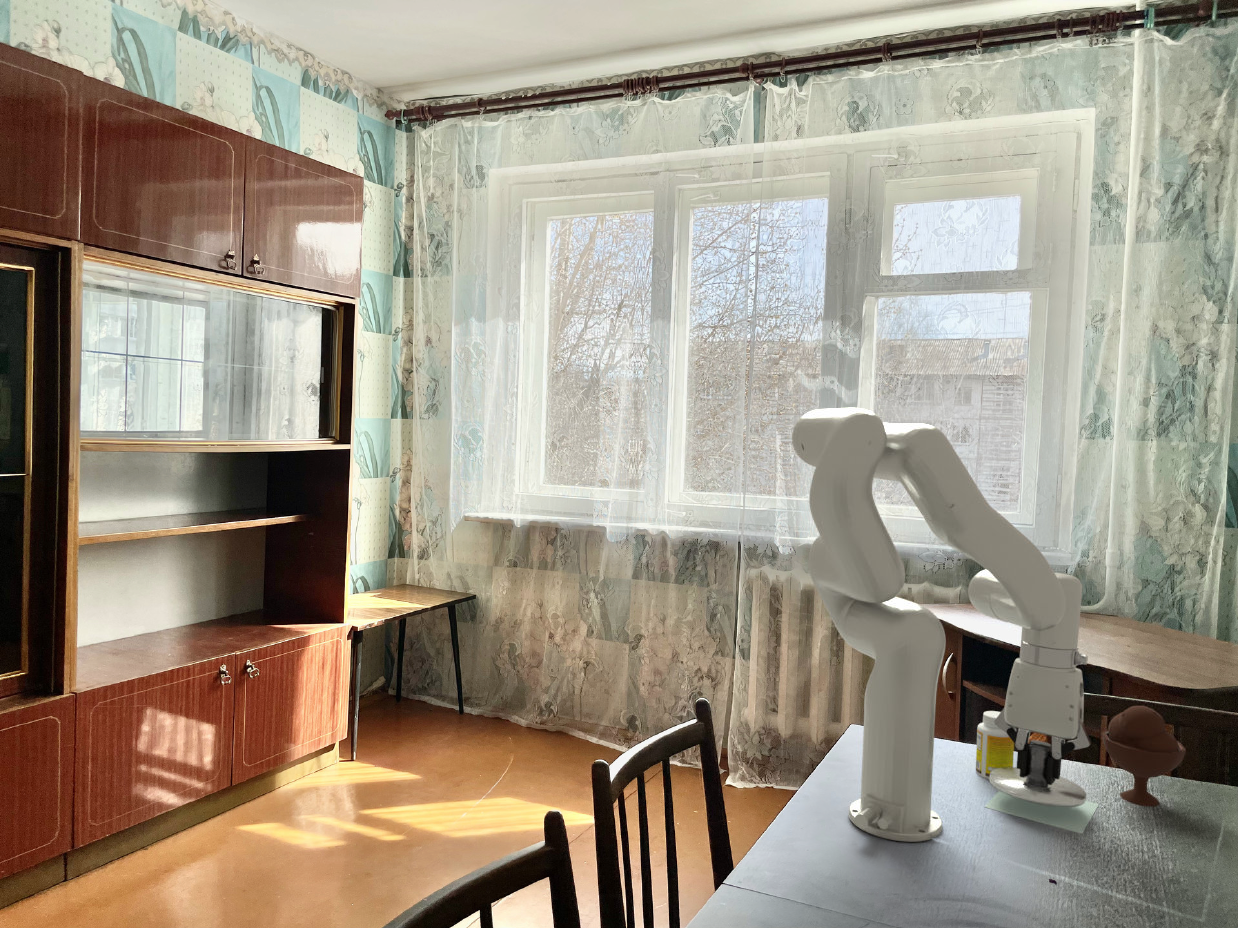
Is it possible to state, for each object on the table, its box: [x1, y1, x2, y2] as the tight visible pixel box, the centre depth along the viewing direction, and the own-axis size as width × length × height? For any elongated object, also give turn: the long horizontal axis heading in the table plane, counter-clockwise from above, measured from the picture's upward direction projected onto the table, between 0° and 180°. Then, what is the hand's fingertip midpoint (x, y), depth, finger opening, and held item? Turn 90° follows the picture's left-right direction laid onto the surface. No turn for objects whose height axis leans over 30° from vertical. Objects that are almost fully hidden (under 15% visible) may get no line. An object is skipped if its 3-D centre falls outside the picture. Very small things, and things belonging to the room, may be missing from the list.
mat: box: [984, 790, 1100, 835], centre depth 132 cm, size 13×13×1 cm
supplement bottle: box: [975, 710, 1015, 780], centre depth 143 cm, size 6×6×10 cm
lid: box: [988, 739, 1087, 807], centre depth 131 cm, size 13×13×7 cm
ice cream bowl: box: [1101, 705, 1187, 808], centre depth 135 cm, size 11×11×15 cm
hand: (1037, 777), depth 131 cm, fingers closed on lid, 3 cm apart
